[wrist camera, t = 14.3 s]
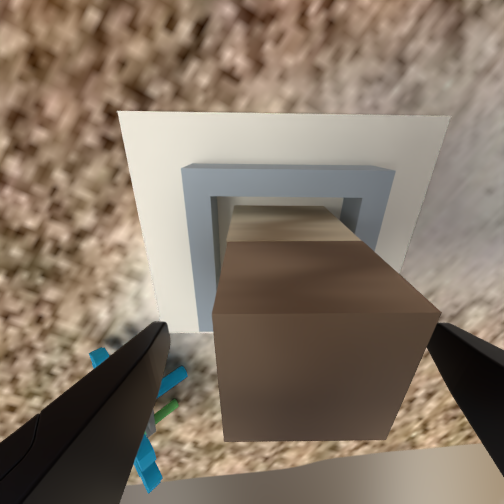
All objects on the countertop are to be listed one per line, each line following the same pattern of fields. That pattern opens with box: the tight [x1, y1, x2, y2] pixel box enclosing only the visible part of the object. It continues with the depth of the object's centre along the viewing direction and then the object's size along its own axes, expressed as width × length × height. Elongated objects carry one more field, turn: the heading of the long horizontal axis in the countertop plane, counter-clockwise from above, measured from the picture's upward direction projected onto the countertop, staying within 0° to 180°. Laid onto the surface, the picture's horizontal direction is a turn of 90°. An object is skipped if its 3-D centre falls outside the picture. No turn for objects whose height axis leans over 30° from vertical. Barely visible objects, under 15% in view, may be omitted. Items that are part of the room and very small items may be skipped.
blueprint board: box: [118, 111, 451, 333], centre depth 14 cm, size 16×14×3 cm
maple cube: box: [226, 205, 361, 244], centre depth 12 cm, size 5×5×5 cm
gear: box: [89, 347, 188, 493], centre depth 18 cm, size 11×6×10 cm
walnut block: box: [212, 241, 442, 442], centre depth 8 cm, size 5×5×4 cm
